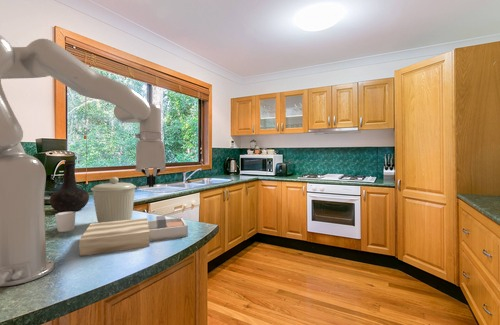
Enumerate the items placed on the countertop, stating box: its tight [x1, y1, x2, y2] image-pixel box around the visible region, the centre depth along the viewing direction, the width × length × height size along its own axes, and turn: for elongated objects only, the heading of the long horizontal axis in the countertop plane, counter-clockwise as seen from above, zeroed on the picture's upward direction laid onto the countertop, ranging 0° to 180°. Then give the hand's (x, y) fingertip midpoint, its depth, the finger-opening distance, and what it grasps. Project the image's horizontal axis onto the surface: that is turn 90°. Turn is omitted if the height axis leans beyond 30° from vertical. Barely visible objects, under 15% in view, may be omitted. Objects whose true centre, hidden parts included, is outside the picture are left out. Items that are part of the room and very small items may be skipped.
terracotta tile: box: [166, 221, 184, 228], centre depth 99 cm, size 6×6×3 cm
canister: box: [90, 176, 137, 223], centre depth 114 cm, size 18×18×21 cm
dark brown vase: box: [49, 160, 90, 213], centre depth 140 cm, size 18×18×28 cm
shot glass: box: [55, 211, 77, 233], centre depth 105 cm, size 7×7×7 cm
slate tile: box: [155, 215, 167, 229], centre depth 97 cm, size 6×6×3 cm
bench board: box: [78, 217, 150, 257], centre depth 91 cm, size 20×20×5 cm
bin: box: [148, 217, 189, 242], centre depth 100 cm, size 14×14×4 cm
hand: (151, 186), depth 95 cm, fingers closed
